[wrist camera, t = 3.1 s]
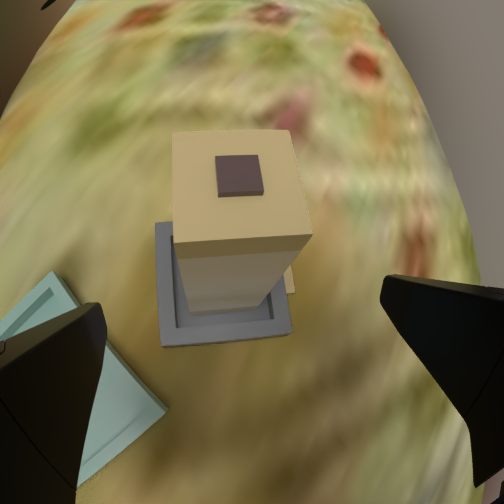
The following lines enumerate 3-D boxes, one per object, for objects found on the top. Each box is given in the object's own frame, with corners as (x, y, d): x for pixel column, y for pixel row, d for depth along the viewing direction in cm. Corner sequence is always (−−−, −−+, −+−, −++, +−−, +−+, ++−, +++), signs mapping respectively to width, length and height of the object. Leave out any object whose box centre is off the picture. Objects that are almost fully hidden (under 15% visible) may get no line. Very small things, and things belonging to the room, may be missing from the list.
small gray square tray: (300, 333, 21) (308, 330, 20) (164, 347, 20) (160, 345, 18) (282, 224, 24) (287, 214, 22) (158, 232, 22) (155, 222, 21)
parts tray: (169, 409, 18) (165, 412, 17) (61, 499, 14) (51, 507, 13) (62, 278, 20) (52, 270, 18) (-30, 372, 16) (-43, 370, 14)
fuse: (255, 309, 21) (316, 229, 10) (190, 315, 20) (173, 238, 9) (247, 249, 22) (290, 124, 11) (185, 254, 22) (172, 126, 10)
